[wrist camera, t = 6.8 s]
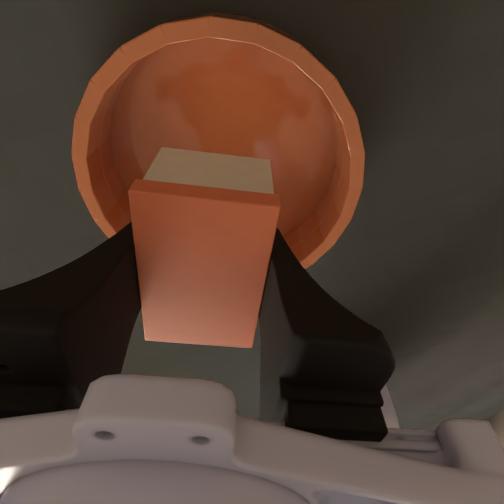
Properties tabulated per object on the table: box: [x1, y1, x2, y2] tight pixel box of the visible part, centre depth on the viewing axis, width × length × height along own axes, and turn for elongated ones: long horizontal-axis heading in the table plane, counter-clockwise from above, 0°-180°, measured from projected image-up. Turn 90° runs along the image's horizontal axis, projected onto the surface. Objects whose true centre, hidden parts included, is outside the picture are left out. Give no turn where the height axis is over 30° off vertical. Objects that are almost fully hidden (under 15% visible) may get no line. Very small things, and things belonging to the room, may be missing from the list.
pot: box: [71, 12, 365, 269], centre depth 19 cm, size 14×14×4 cm
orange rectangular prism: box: [128, 147, 281, 348], centre depth 13 cm, size 4×7×4 cm, turn 173°
